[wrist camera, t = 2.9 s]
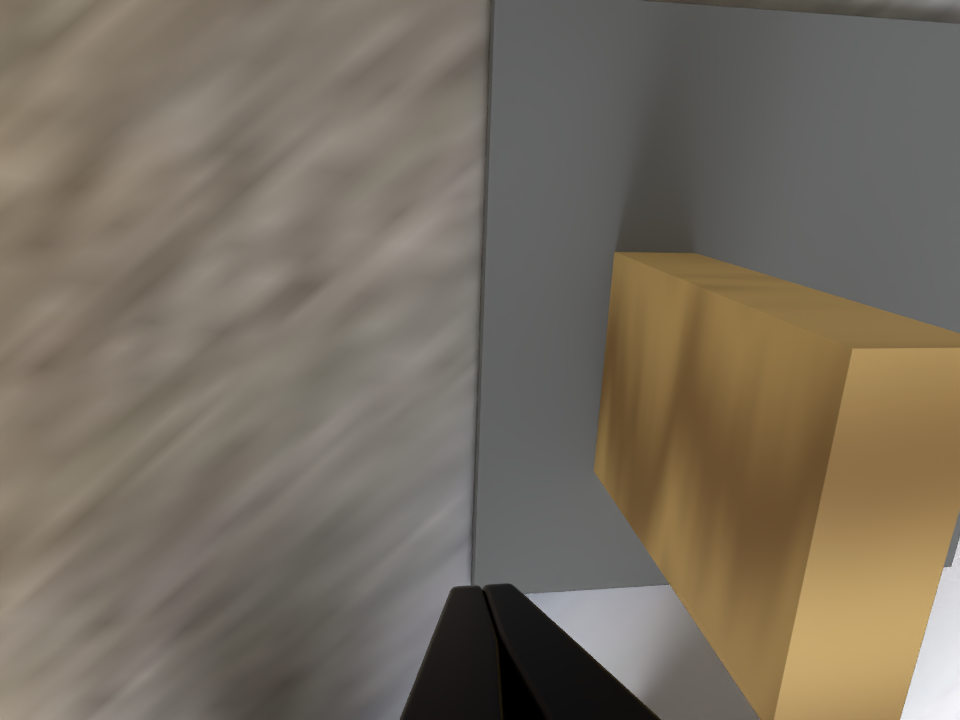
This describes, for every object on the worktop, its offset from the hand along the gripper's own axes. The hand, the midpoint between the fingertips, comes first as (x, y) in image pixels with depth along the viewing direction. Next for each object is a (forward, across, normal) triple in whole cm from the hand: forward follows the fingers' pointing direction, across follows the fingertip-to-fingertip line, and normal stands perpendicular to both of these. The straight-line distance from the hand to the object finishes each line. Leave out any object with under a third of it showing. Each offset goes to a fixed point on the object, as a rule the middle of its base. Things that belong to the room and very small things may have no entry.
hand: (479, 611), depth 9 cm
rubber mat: (+11, -11, -1) cm, 15 cm away
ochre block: (+10, -7, 0) cm, 12 cm away
